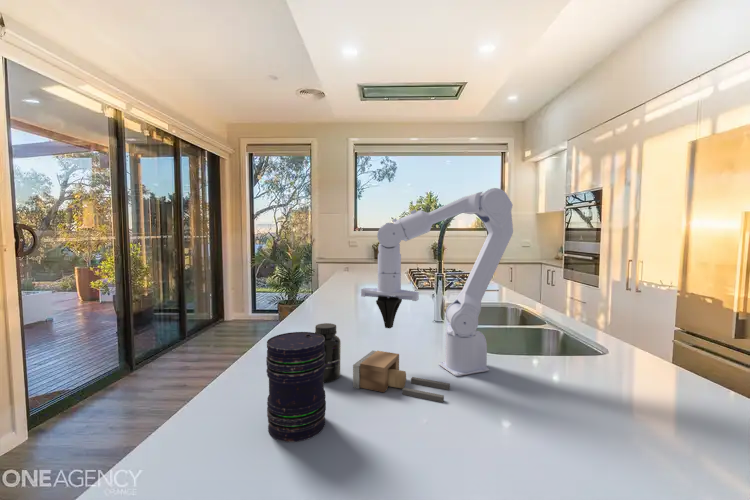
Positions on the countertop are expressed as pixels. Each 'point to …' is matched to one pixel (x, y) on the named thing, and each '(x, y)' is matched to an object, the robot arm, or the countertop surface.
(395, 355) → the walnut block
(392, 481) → the countertop surface
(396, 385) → the oak dowel
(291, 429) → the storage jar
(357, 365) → the steel backstop wall
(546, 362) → the countertop surface
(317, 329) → the supplement bottle
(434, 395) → the guide rails
